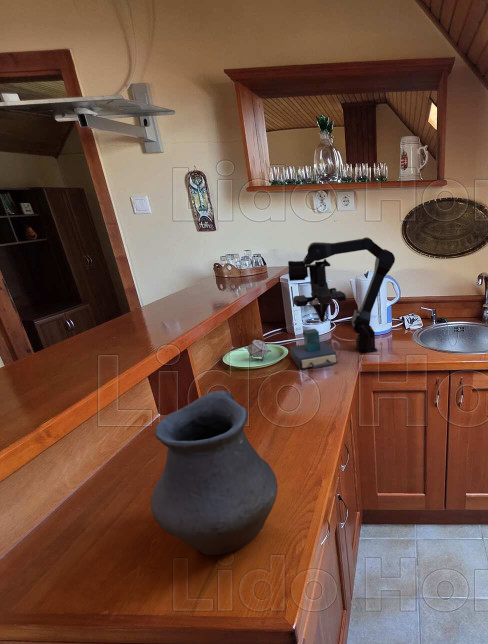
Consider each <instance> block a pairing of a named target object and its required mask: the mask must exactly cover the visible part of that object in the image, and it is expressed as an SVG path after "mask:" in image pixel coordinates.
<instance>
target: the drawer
mask: <svg viewBox="0 0 488 644" xmlns="http://www.w3.org/2000/svg"><path fill="white" fill-rule="evenodd" d="M336 360H337V354H336V355H335V354H334V355H326V356H320V357H315V358H309V359H303V360H301V363H302V368H306V367H312V366H313V367H312V369H313V370H317V369H323V368H328V367H333V366H334V364H333V362H336Z"/></svg>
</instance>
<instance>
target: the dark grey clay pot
mask: <svg viewBox="0 0 488 644" xmlns="http://www.w3.org/2000/svg"><path fill="white" fill-rule="evenodd" d="M248 419H249V412H248V410H247V409H246V407H244V406H242V405H241V404H239V403H238V402H237V401H236V400H235V399H234V396H233V393H231V392H229V391H227V390H222V389H221V390H214V391H210V392H207V393H205V394H203V395H202V396H200V397H199V398H197V399H195V400H194V401H192V402H190V403H188V404H187V405H185V406H184V407H181V408H179V409H178V410H175V411H172V412H171V413H168V414H167V415H165V416H164V417H163V418H162V419H161V420H160V421H159V422H158V424H157V425H156V428H155V429H154V433H155V437H156V439H157V440H158V441H160V442H161V444H162V445H164V447H167V452H166V457H165V458H166V459H165V465H164V468H163V471H162V473H161V475H160V476H159V479H158V480H157V482H156V484H155V485H154V488H153V491H152V493H151V496H150V511H151V514H152V516H153V519H154V520H155V522H156V523H157V524H158V526H159V527H160V528H161V529H163V531H164V532H166V533H167V534H169V535H172V536H173V537H174V538H177V539H178V540H179V541H181V542H183V543H184V544H185V545H188V546H190V547H191V548H192V549H195V550H197V551H199V552H200V553H202V554H203V555H207V556H221V555H224V554H228V553H232V552H235V551H238V550H239V549H241V548H243V547H245V546H246V545H248V544H249V543H250V542H252V541H253V540H254V539H256V537H257V536H258V535H259V534H260V532H261V531H262V529H263V528H264V525H265V523H266V521H267V519H268V517H269V515H270V514H271V512H272V509H273V508H274V505H275V502H276V501H277V495H278V488H279V487H278V480H277V476H276V473H275V472H274V470H273V469H272V467H271V466H270V464H269V463H268V462H267V461H266V460H264V459H263V458H262V457H261V456H260V454H259V453H258V452H257V451H256V449H255V448H254V447H253V446H252V444H251V443H250V441H249V439H248V438H247V435H246V433H245V431H244V428H245V426H246V424H247V421H248Z"/></svg>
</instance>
